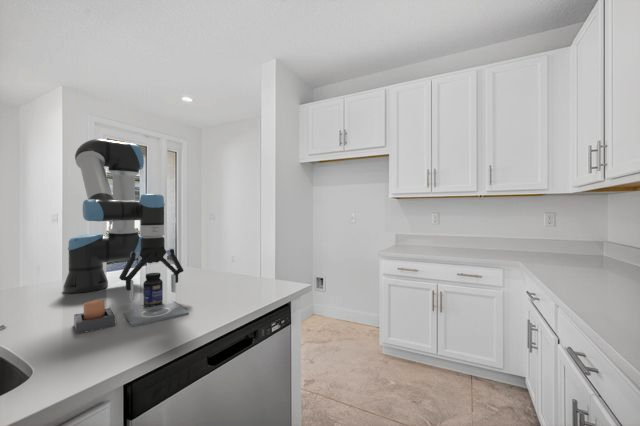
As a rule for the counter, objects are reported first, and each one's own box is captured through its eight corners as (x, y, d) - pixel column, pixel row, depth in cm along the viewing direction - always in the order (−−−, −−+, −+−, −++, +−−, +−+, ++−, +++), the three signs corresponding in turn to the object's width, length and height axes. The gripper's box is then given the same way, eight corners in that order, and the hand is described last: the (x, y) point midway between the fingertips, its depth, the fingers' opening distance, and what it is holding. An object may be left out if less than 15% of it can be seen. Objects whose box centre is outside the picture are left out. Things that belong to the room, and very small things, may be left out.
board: (123, 314, 98) (123, 312, 98) (175, 303, 109) (175, 301, 109) (132, 326, 88) (132, 324, 88) (188, 313, 98) (188, 311, 98)
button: (83, 318, 89) (82, 302, 89) (103, 314, 92) (103, 298, 92) (84, 323, 85) (84, 306, 85) (105, 319, 89) (105, 302, 89)
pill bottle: (154, 307, 105) (153, 276, 105) (139, 306, 106) (139, 275, 106) (166, 302, 111) (166, 272, 111) (152, 300, 112) (152, 271, 112)
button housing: (74, 324, 89) (73, 314, 89) (110, 317, 95) (110, 307, 95) (76, 334, 82) (76, 323, 82) (115, 325, 89) (115, 315, 88)
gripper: (112, 240, 97) (113, 305, 97) (191, 235, 114) (192, 290, 114) (109, 238, 102) (110, 300, 102) (185, 234, 119) (185, 287, 119)
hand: (153, 295), depth 108 cm, fingers open, 13 cm apart
